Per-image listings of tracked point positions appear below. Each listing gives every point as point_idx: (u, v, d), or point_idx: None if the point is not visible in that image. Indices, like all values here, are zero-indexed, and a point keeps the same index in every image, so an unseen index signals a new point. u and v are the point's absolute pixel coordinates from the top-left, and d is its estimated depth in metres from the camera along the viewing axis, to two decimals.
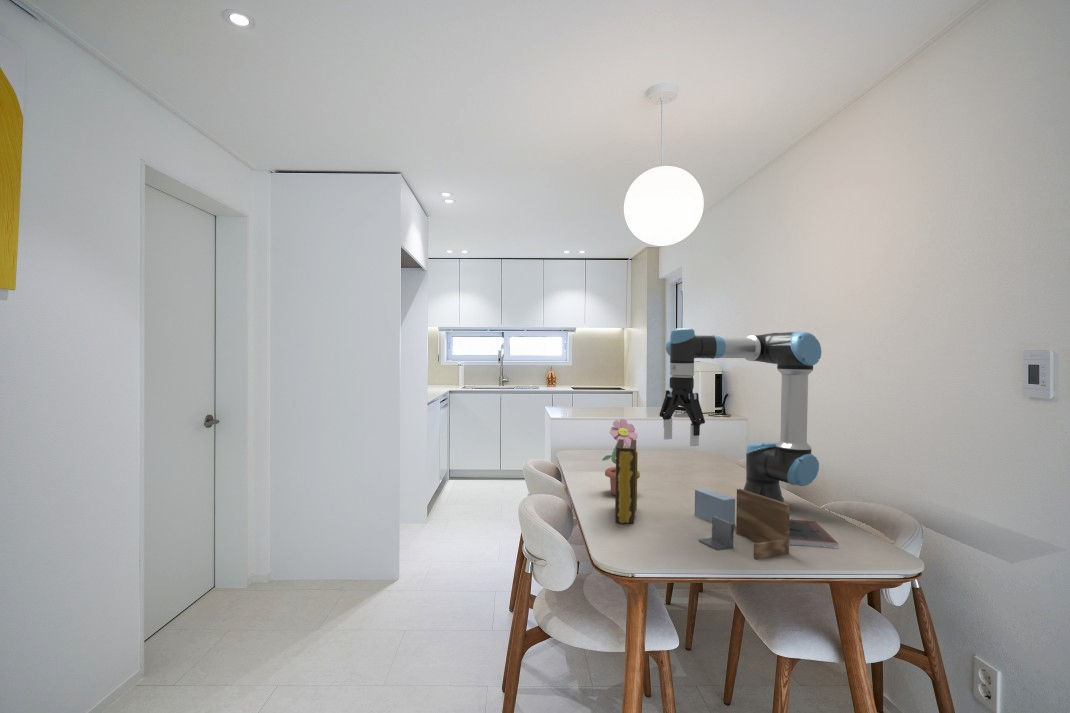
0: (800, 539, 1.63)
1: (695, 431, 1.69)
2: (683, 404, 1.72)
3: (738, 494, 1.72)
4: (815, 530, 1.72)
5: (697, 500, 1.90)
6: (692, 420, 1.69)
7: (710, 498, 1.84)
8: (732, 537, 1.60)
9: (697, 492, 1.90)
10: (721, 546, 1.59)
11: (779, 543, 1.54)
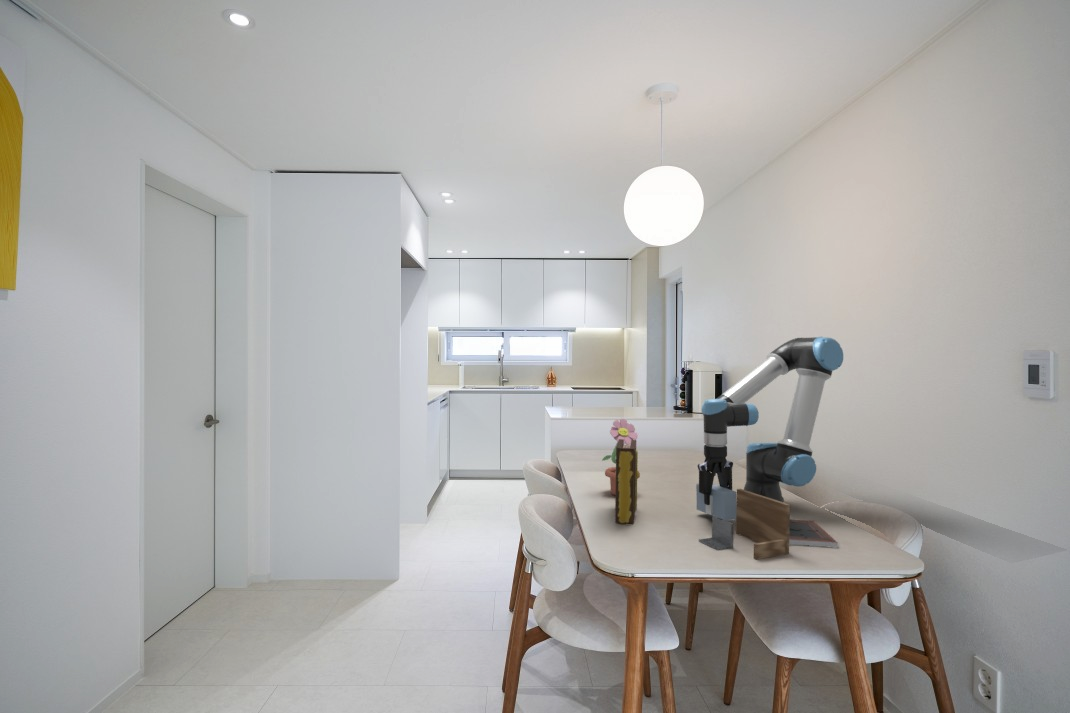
0: (800, 539, 1.64)
1: None
2: None
3: (738, 494, 1.72)
4: (814, 530, 1.72)
5: (699, 494, 1.90)
6: None
7: (711, 491, 1.84)
8: (732, 537, 1.60)
9: (698, 486, 1.91)
10: (721, 546, 1.59)
11: (779, 543, 1.54)
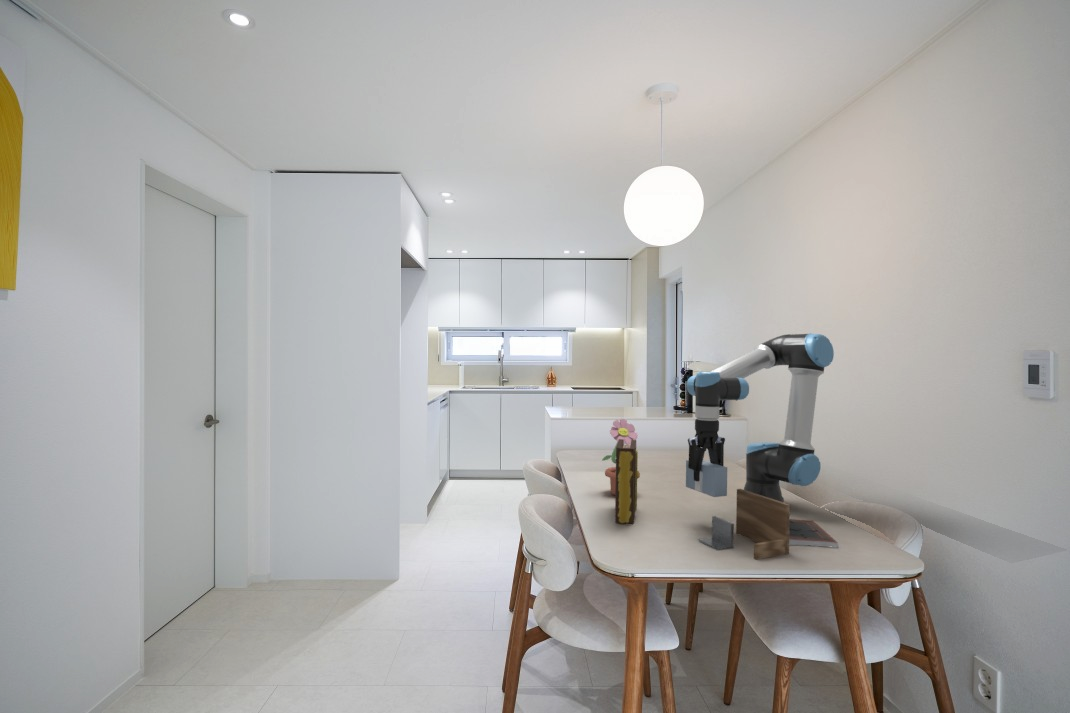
0: (800, 539, 1.64)
1: None
2: None
3: (738, 494, 1.72)
4: (814, 529, 1.73)
5: (688, 471, 1.82)
6: None
7: (701, 467, 1.76)
8: (732, 537, 1.60)
9: (688, 462, 1.83)
10: (721, 546, 1.59)
11: (779, 543, 1.54)
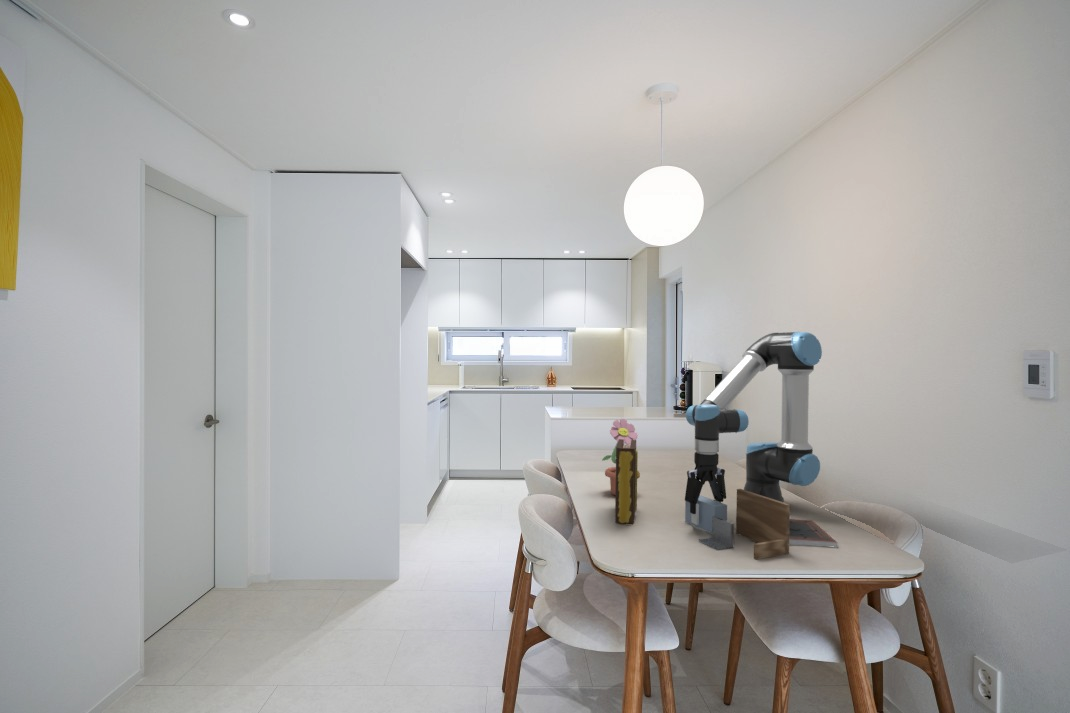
0: (800, 539, 1.64)
1: None
2: None
3: (738, 494, 1.72)
4: (813, 529, 1.73)
5: (688, 506, 1.83)
6: None
7: (701, 504, 1.76)
8: (732, 537, 1.60)
9: None
10: (721, 546, 1.59)
11: (779, 543, 1.54)
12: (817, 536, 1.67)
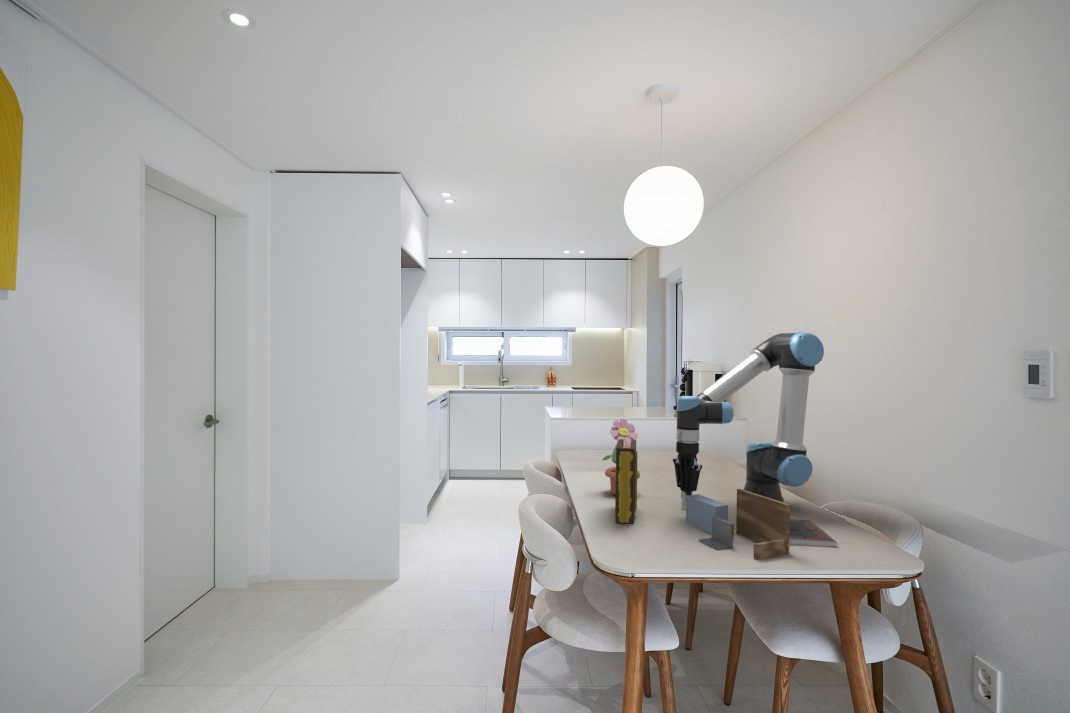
0: (799, 538, 1.64)
1: None
2: (685, 470, 1.85)
3: (738, 494, 1.72)
4: (812, 529, 1.73)
5: (688, 506, 1.82)
6: (686, 487, 1.85)
7: (702, 504, 1.76)
8: (732, 537, 1.60)
9: (688, 498, 1.82)
10: (721, 546, 1.59)
11: (779, 543, 1.54)
12: (816, 536, 1.67)
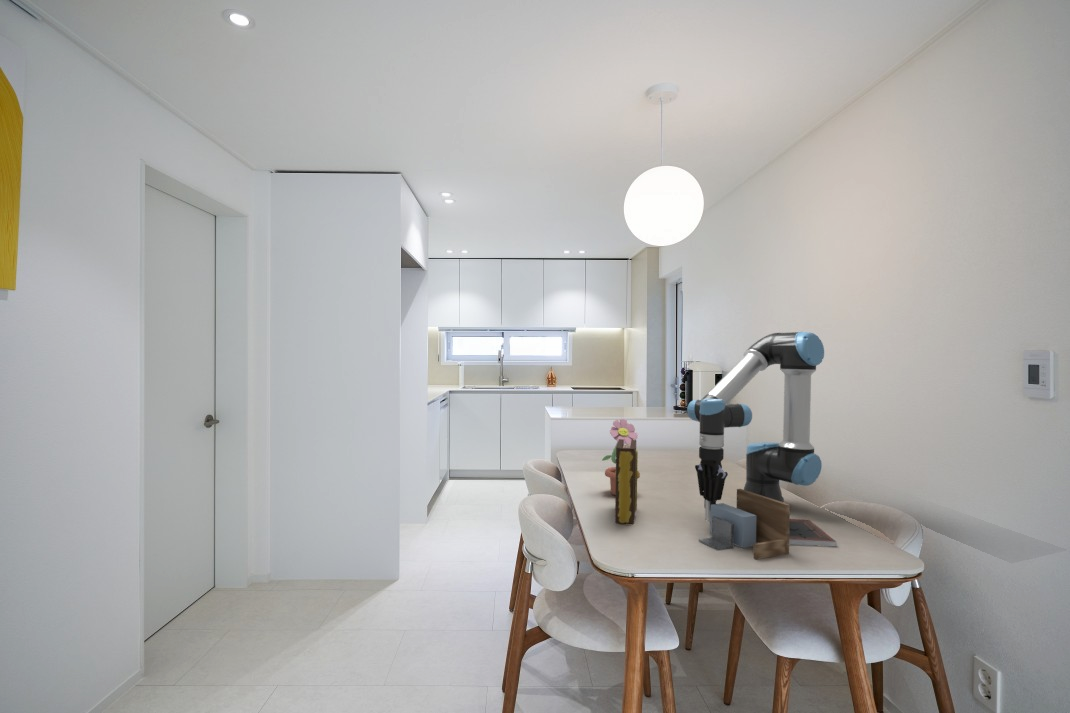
0: (799, 538, 1.64)
1: None
2: (709, 477, 1.74)
3: (738, 494, 1.72)
4: (811, 529, 1.73)
5: None
6: (710, 496, 1.74)
7: (728, 514, 1.65)
8: (732, 537, 1.60)
9: (713, 507, 1.71)
10: (721, 546, 1.59)
11: (779, 543, 1.54)
12: (816, 536, 1.67)
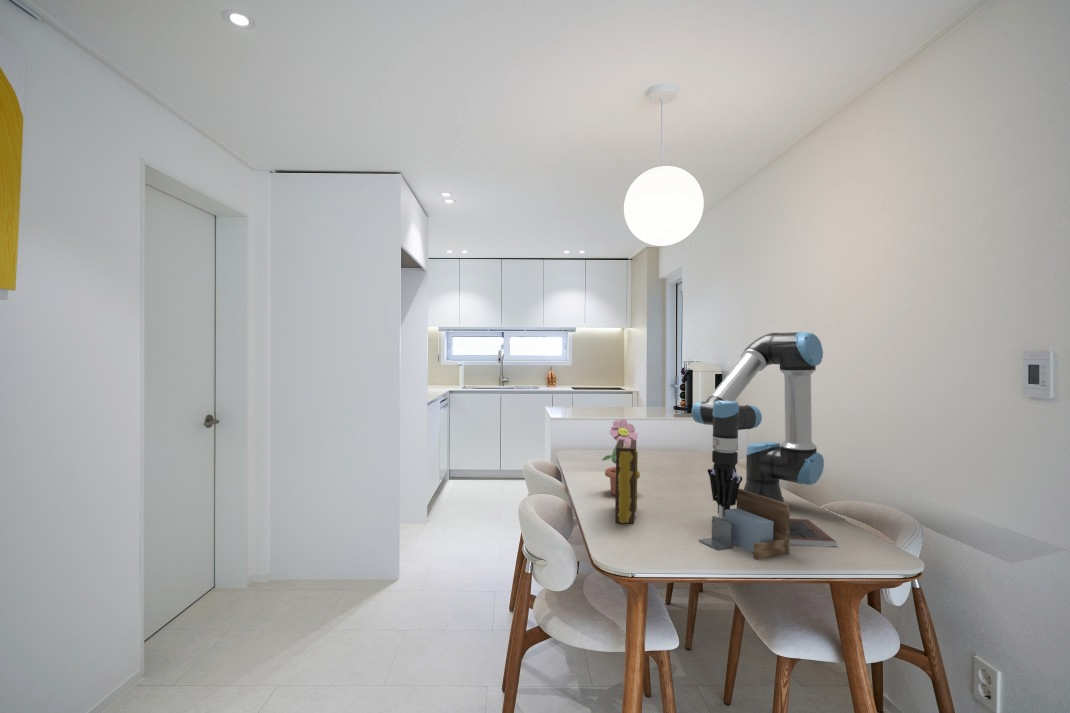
0: (799, 538, 1.64)
1: None
2: (723, 482, 1.69)
3: (738, 494, 1.72)
4: (811, 529, 1.73)
5: None
6: (724, 501, 1.69)
7: (744, 520, 1.60)
8: (732, 537, 1.60)
9: (727, 513, 1.66)
10: (721, 546, 1.59)
11: (779, 543, 1.54)
12: (816, 535, 1.67)
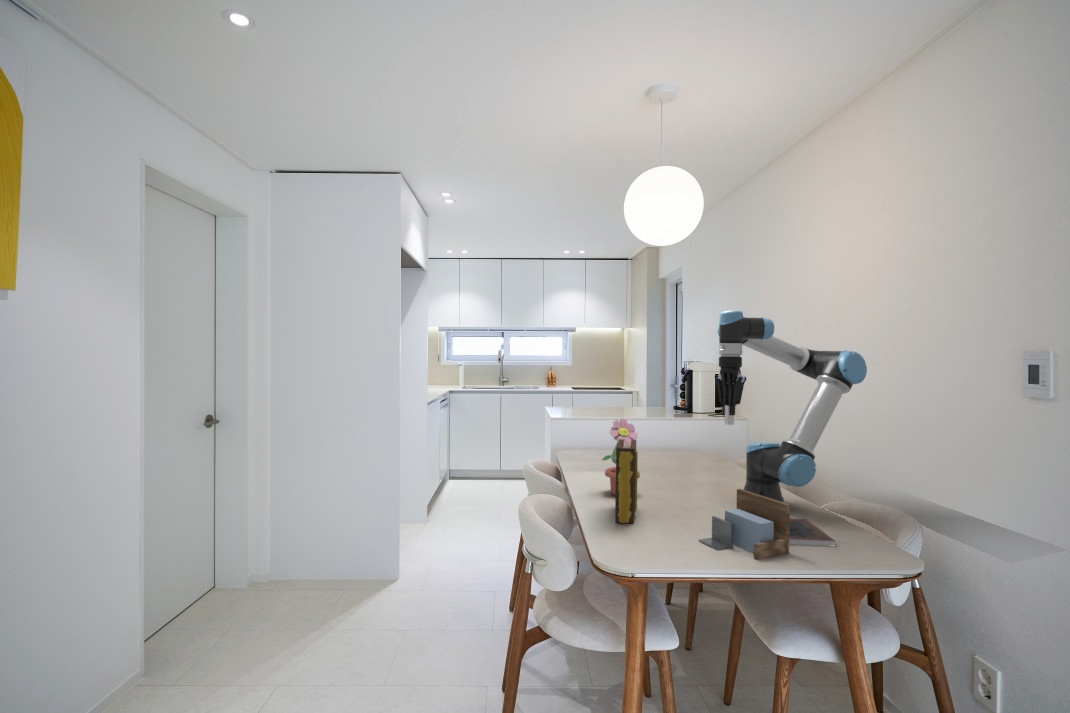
0: (799, 538, 1.64)
1: (731, 411, 1.87)
2: (729, 383, 1.86)
3: (738, 494, 1.72)
4: (810, 528, 1.74)
5: None
6: (729, 401, 1.86)
7: (744, 521, 1.60)
8: (732, 537, 1.60)
9: (728, 513, 1.66)
10: (721, 546, 1.59)
11: (779, 543, 1.54)
12: (815, 535, 1.67)
